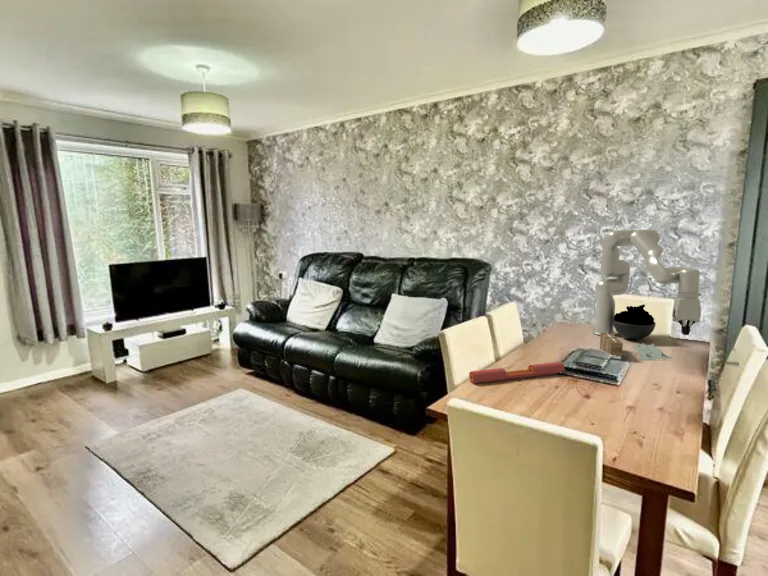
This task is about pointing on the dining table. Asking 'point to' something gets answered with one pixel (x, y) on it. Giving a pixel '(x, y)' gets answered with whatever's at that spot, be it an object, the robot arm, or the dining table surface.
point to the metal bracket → (650, 352)
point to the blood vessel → (515, 372)
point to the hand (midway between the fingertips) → (685, 334)
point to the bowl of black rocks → (634, 323)
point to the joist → (611, 344)
